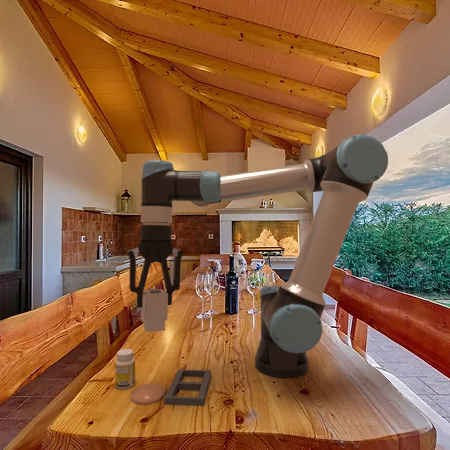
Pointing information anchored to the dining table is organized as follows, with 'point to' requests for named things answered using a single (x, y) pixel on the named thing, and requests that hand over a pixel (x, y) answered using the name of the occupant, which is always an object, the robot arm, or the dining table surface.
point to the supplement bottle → (125, 369)
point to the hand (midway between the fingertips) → (154, 319)
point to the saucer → (147, 394)
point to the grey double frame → (188, 388)
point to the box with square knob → (155, 310)
